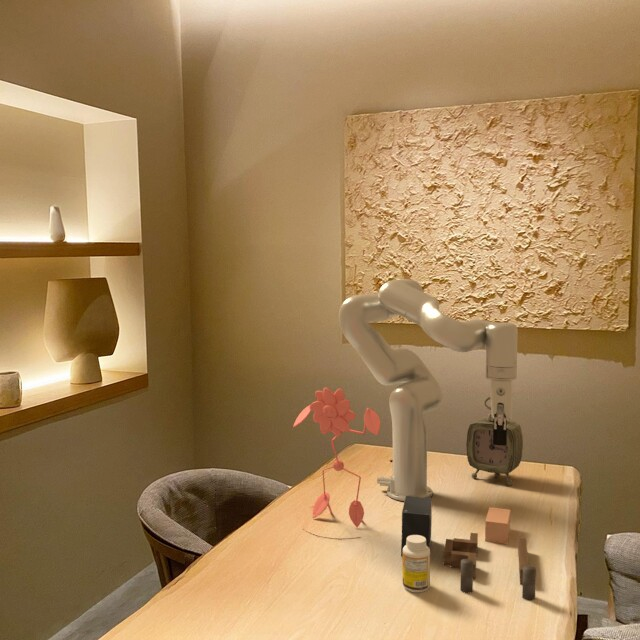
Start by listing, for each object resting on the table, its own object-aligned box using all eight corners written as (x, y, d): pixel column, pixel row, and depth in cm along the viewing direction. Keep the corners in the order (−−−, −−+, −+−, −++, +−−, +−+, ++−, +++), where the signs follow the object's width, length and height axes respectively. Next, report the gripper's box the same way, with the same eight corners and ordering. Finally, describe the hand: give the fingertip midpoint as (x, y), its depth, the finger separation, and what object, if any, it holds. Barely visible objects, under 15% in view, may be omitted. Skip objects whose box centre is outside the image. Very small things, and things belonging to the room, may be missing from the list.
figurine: (306, 504, 184) (303, 377, 180) (392, 526, 170) (391, 388, 166) (271, 525, 172) (267, 389, 167) (361, 550, 157) (359, 401, 153)
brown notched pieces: (439, 589, 138) (439, 561, 138) (447, 543, 160) (447, 518, 159) (535, 601, 134) (536, 571, 133) (530, 552, 155) (531, 526, 154)
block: (485, 541, 161) (485, 521, 161) (489, 526, 170) (489, 507, 169) (507, 544, 160) (507, 523, 159) (510, 529, 168) (510, 509, 167)
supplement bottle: (411, 577, 144) (412, 530, 143) (435, 585, 140) (435, 537, 139) (397, 587, 139) (397, 539, 138) (420, 596, 136) (420, 547, 135)
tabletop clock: (465, 479, 204) (467, 396, 201) (477, 470, 211) (478, 391, 208) (513, 488, 195) (515, 402, 193) (524, 479, 203) (526, 396, 200)
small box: (430, 559, 152) (430, 514, 151) (400, 557, 153) (400, 512, 152) (432, 539, 162) (432, 497, 161) (404, 537, 163) (404, 495, 162)
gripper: (517, 379, 162) (515, 450, 163) (516, 366, 178) (514, 431, 180) (484, 378, 164) (483, 448, 165) (486, 365, 180) (485, 429, 182)
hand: (499, 439), depth 173 cm, fingers open, 9 cm apart
